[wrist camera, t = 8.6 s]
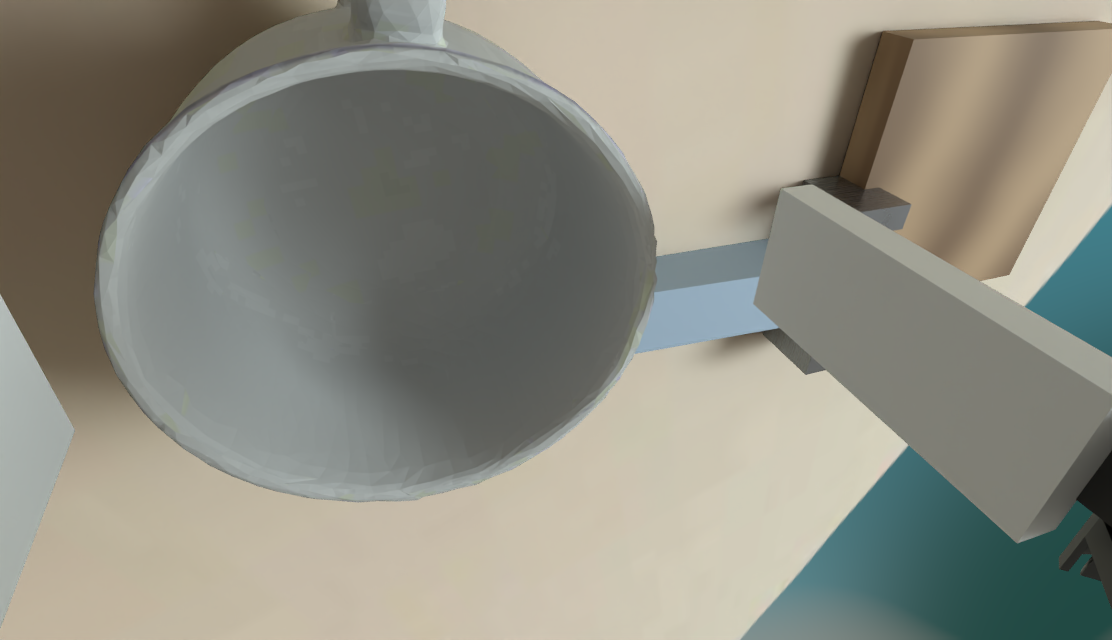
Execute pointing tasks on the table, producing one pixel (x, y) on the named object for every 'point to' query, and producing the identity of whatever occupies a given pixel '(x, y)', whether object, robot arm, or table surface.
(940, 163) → the board
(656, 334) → the leg
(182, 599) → the table surface
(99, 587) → the table surface
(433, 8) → the teacup
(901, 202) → the hinge cheek
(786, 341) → the hinge cheek
